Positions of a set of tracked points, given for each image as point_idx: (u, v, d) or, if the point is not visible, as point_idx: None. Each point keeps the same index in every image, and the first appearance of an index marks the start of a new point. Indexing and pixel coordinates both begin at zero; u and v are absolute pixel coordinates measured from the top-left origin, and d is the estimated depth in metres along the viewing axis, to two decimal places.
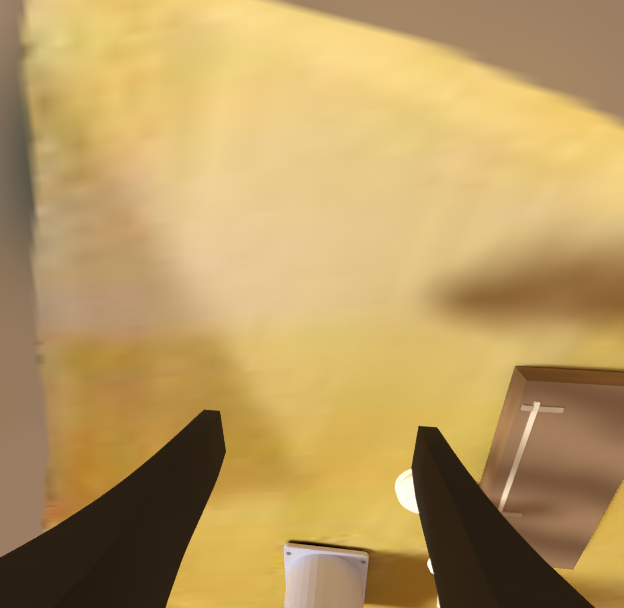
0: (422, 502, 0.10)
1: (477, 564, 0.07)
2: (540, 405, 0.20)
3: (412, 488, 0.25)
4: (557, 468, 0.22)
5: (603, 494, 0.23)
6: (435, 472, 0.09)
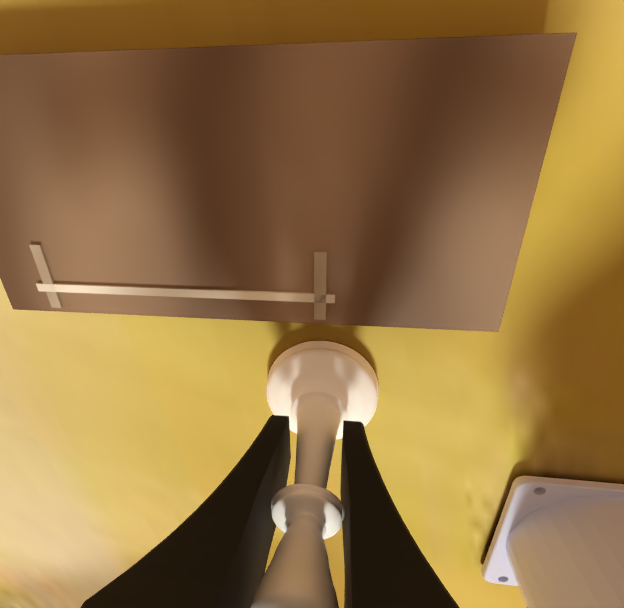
0: (342, 494, 0.11)
1: (350, 549, 0.07)
2: (42, 281, 0.12)
3: (296, 427, 0.14)
4: (167, 213, 0.10)
5: (216, 77, 0.09)
6: (345, 464, 0.09)
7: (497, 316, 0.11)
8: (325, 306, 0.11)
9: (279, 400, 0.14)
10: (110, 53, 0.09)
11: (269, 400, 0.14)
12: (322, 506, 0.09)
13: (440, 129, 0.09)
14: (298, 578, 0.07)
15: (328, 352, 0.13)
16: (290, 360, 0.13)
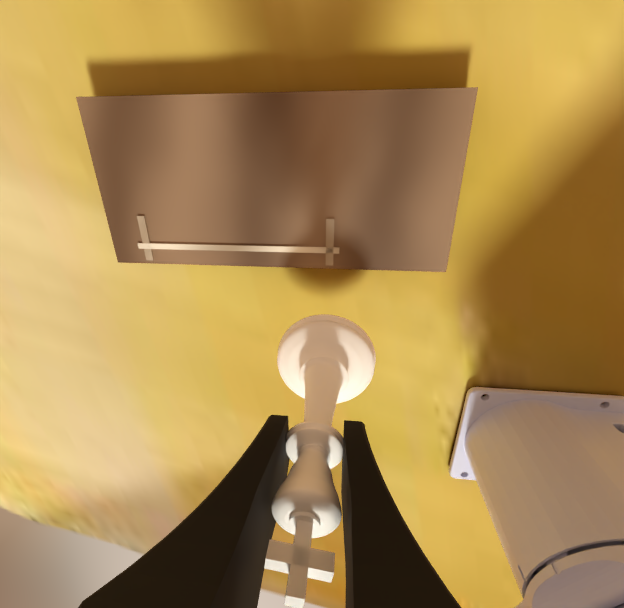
0: (343, 494, 0.11)
1: (352, 549, 0.07)
2: (142, 241, 0.18)
3: None
4: (231, 194, 0.16)
5: (268, 110, 0.15)
6: (346, 464, 0.09)
7: (444, 261, 0.16)
8: (333, 256, 0.17)
9: (289, 369, 0.16)
10: (204, 95, 0.15)
11: (280, 371, 0.16)
12: (325, 437, 0.11)
13: (403, 141, 0.14)
14: (306, 481, 0.09)
15: (327, 323, 0.15)
16: (295, 333, 0.15)
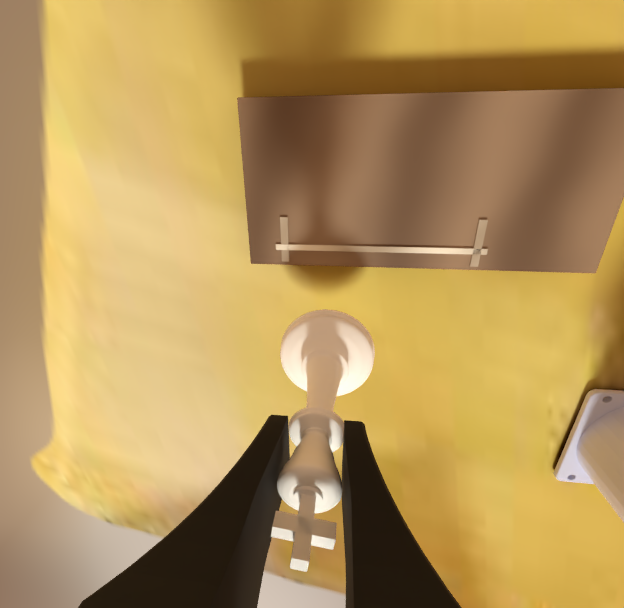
0: (343, 494, 0.11)
1: (352, 549, 0.07)
2: (280, 242, 0.18)
3: None
4: (383, 194, 0.16)
5: (437, 110, 0.14)
6: (346, 464, 0.09)
7: (596, 262, 0.16)
8: (479, 257, 0.17)
9: (291, 362, 0.16)
10: (372, 95, 0.14)
11: (283, 364, 0.17)
12: (327, 421, 0.11)
13: (574, 141, 0.14)
14: (309, 458, 0.10)
15: (328, 317, 0.16)
16: (297, 327, 0.16)
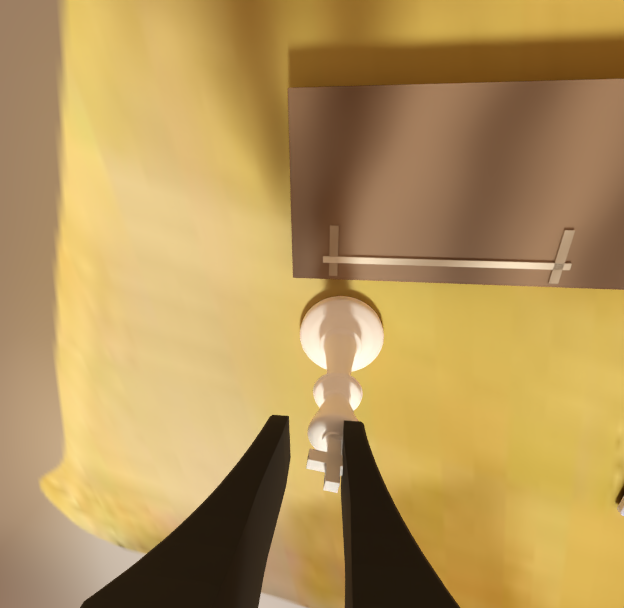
0: (342, 494, 0.11)
1: (351, 549, 0.07)
2: (328, 254, 0.15)
3: (324, 361, 0.19)
4: (452, 201, 0.14)
5: (526, 102, 0.12)
6: (345, 464, 0.09)
7: None
8: (560, 273, 0.14)
9: (310, 340, 0.18)
10: (448, 85, 0.12)
11: (302, 342, 0.19)
12: (347, 384, 0.13)
13: None
14: (335, 410, 0.12)
15: (344, 300, 0.17)
16: (316, 308, 0.18)
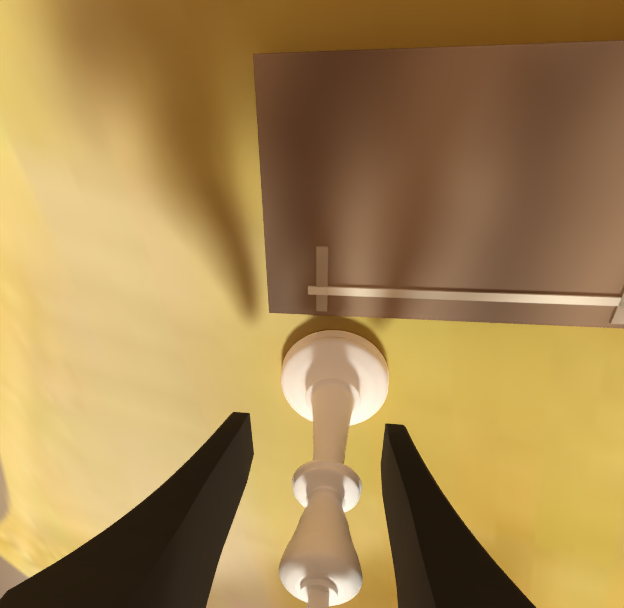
0: (387, 498, 0.10)
1: (421, 558, 0.07)
2: (315, 284, 0.12)
3: (312, 415, 0.15)
4: (484, 214, 0.10)
5: (598, 73, 0.08)
6: (395, 468, 0.09)
7: None
8: None
9: (294, 390, 0.14)
10: (485, 48, 0.08)
11: (284, 391, 0.15)
12: (340, 479, 0.09)
13: None
14: (321, 540, 0.08)
15: (337, 340, 0.13)
16: (301, 350, 0.14)
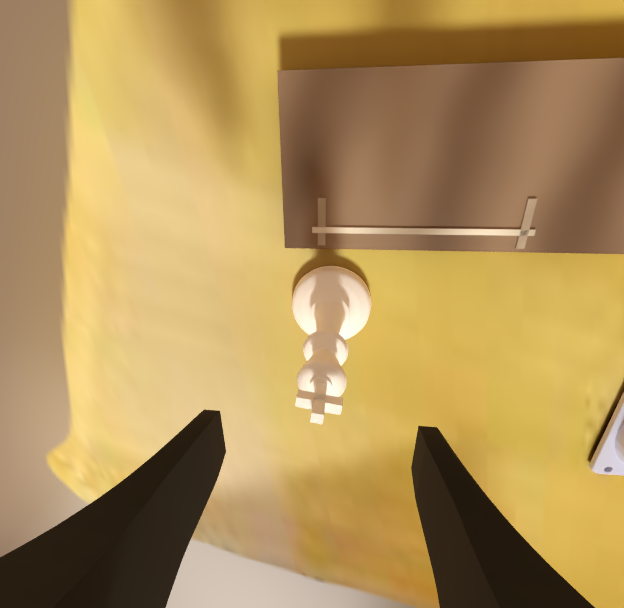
0: (422, 502, 0.10)
1: (477, 564, 0.07)
2: (317, 225, 0.17)
3: (315, 330, 0.20)
4: (427, 173, 0.15)
5: (490, 81, 0.14)
6: (435, 472, 0.09)
7: None
8: (526, 238, 0.16)
9: (302, 310, 0.20)
10: (421, 66, 0.14)
11: (294, 313, 0.20)
12: (334, 340, 0.15)
13: None
14: (322, 358, 0.13)
15: (332, 271, 0.19)
16: (307, 279, 0.19)
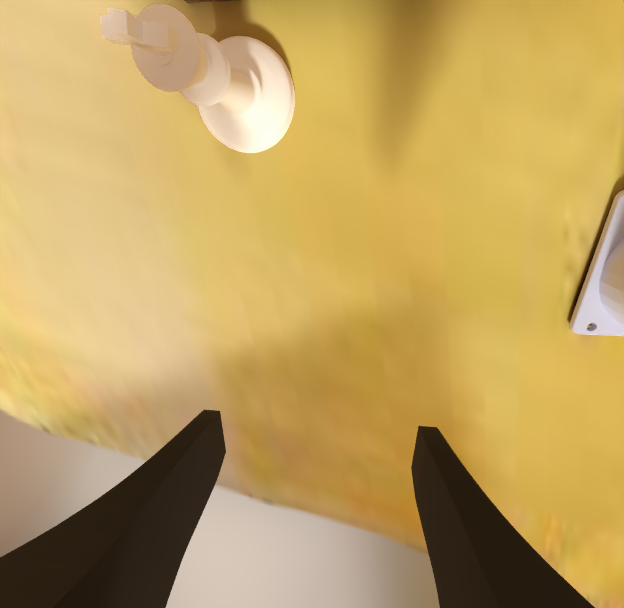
0: (422, 502, 0.10)
1: (477, 564, 0.07)
2: None
3: (225, 130, 0.16)
4: None
5: None
6: (435, 472, 0.09)
7: None
8: None
9: None
10: None
11: (199, 106, 0.16)
12: (205, 42, 0.11)
13: None
14: None
15: (240, 36, 0.15)
16: None
